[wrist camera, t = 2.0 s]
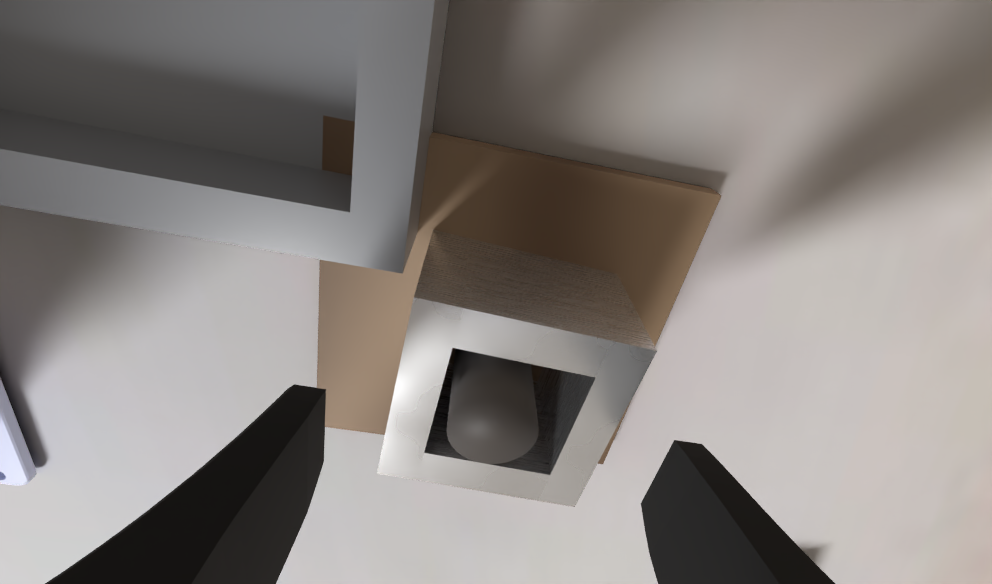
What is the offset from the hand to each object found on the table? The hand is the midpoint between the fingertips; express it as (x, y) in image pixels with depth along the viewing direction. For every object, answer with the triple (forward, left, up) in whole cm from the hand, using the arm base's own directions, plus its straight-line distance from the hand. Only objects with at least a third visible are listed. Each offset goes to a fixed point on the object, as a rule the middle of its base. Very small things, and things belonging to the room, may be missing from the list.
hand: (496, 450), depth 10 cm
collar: (0, 0, -5) cm, 5 cm away
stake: (0, 0, -5) cm, 5 cm away
